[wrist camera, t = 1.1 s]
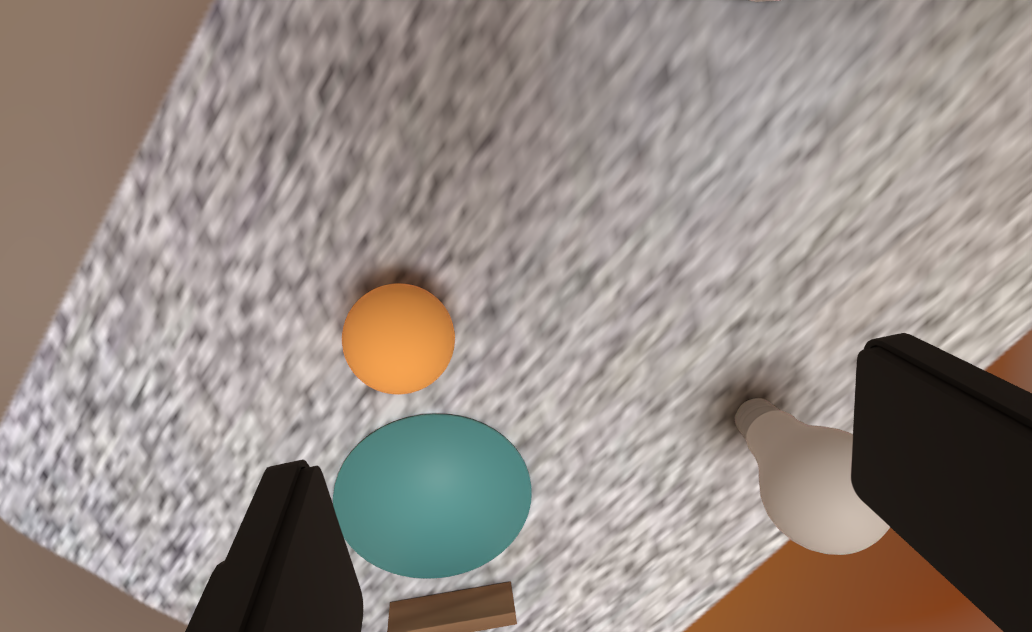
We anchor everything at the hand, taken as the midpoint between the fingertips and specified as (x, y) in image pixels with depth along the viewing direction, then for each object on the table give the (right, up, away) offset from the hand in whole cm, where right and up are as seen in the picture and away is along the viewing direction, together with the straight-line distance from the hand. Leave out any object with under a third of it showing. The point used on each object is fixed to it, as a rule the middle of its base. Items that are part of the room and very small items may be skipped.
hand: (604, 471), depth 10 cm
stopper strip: (-6, -16, +29) cm, 34 cm away
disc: (-6, -9, +26) cm, 29 cm away
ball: (-7, +2, +20) cm, 21 cm away
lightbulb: (+13, -3, +27) cm, 30 cm away
